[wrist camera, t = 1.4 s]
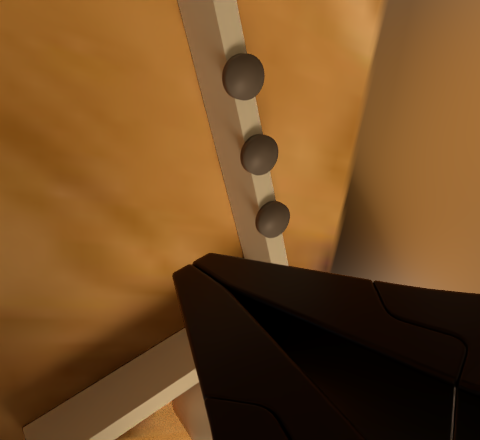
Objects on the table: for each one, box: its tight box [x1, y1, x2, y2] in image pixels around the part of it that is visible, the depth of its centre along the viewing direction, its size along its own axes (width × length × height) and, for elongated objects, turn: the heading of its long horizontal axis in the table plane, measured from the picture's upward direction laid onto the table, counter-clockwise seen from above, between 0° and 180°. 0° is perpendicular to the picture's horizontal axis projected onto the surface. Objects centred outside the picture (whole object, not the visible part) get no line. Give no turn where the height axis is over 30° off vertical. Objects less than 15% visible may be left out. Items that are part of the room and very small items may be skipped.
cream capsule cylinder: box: [173, 382, 213, 440], centre depth 26 cm, size 4×4×5 cm
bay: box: [23, 0, 290, 440], centre depth 19 cm, size 21×15×3 cm
